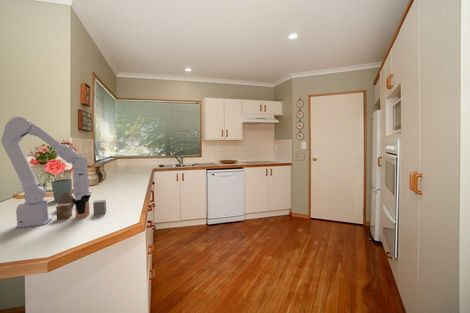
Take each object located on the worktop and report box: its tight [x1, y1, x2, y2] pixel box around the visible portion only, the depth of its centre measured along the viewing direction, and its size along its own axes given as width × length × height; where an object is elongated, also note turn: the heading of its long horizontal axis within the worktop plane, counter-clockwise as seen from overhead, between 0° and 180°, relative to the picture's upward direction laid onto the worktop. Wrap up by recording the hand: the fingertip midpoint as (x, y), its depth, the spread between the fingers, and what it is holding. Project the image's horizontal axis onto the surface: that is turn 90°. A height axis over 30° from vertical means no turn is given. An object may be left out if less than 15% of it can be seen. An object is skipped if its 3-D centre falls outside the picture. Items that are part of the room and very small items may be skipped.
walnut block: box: [55, 203, 73, 221], centre depth 103 cm, size 4×4×6 cm
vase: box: [57, 192, 75, 209], centre depth 117 cm, size 7×7×9 cm
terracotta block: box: [74, 200, 91, 218], centre depth 106 cm, size 4×4×6 cm
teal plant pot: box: [50, 178, 73, 202], centre depth 139 cm, size 10×10×12 cm
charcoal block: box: [92, 199, 107, 216], centre depth 108 cm, size 4×4×6 cm
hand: (82, 212), depth 106 cm, fingers closed on terracotta block, 4 cm apart
